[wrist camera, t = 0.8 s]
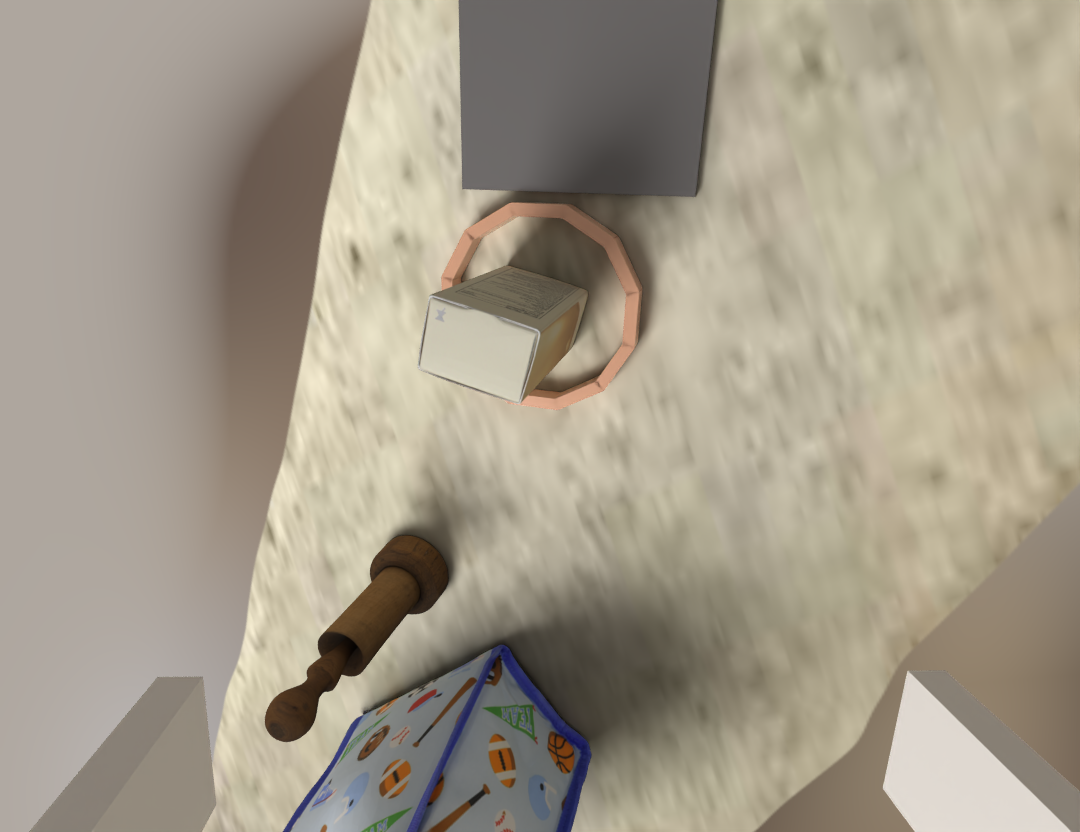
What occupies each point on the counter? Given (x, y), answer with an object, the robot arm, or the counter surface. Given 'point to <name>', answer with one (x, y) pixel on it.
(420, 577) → the mortar and pestle
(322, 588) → the counter surface
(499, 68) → the rubber mat
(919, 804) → the robot arm
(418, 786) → the lunch bag
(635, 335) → the pink polygonal ring
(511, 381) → the skincare box
